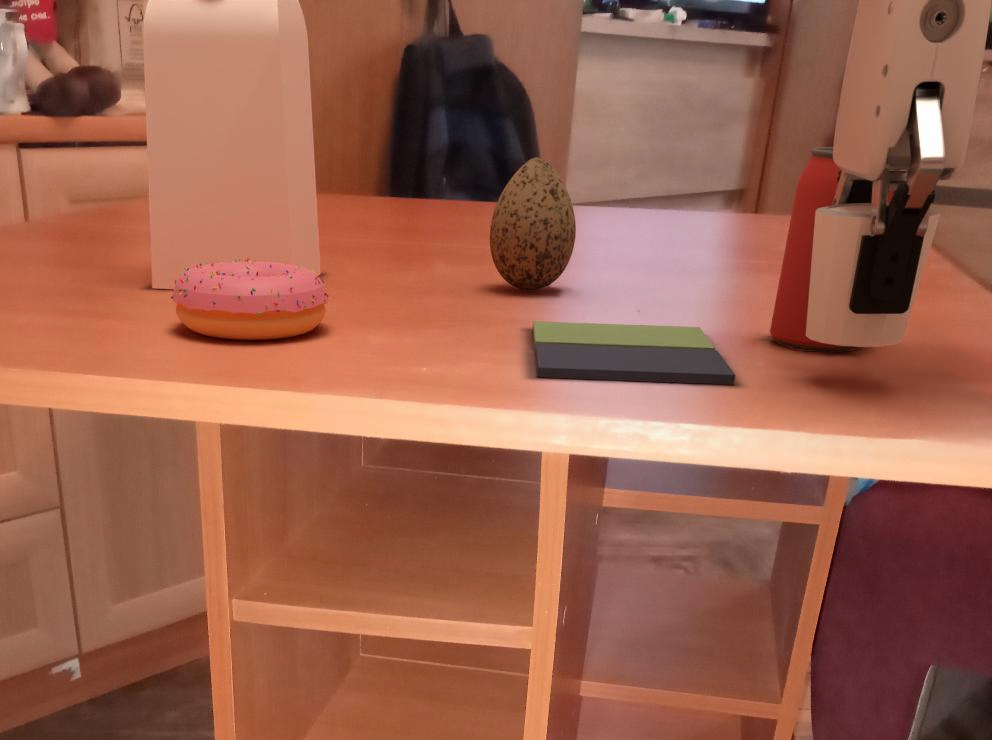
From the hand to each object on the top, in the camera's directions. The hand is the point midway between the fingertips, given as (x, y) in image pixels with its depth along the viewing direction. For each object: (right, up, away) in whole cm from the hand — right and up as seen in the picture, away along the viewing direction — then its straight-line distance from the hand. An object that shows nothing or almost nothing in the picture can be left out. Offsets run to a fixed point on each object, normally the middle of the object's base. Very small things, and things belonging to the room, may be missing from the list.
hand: (860, 298), depth 69 cm
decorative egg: (-16, +13, +30) cm, 37 cm away
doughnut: (-38, +3, +13) cm, 40 cm away
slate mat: (-13, -2, +5) cm, 14 cm away
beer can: (+2, +2, +13) cm, 13 cm away
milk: (-41, +15, +31) cm, 54 cm away
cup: (0, -2, +1) cm, 2 cm away
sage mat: (-12, +2, +12) cm, 17 cm away
